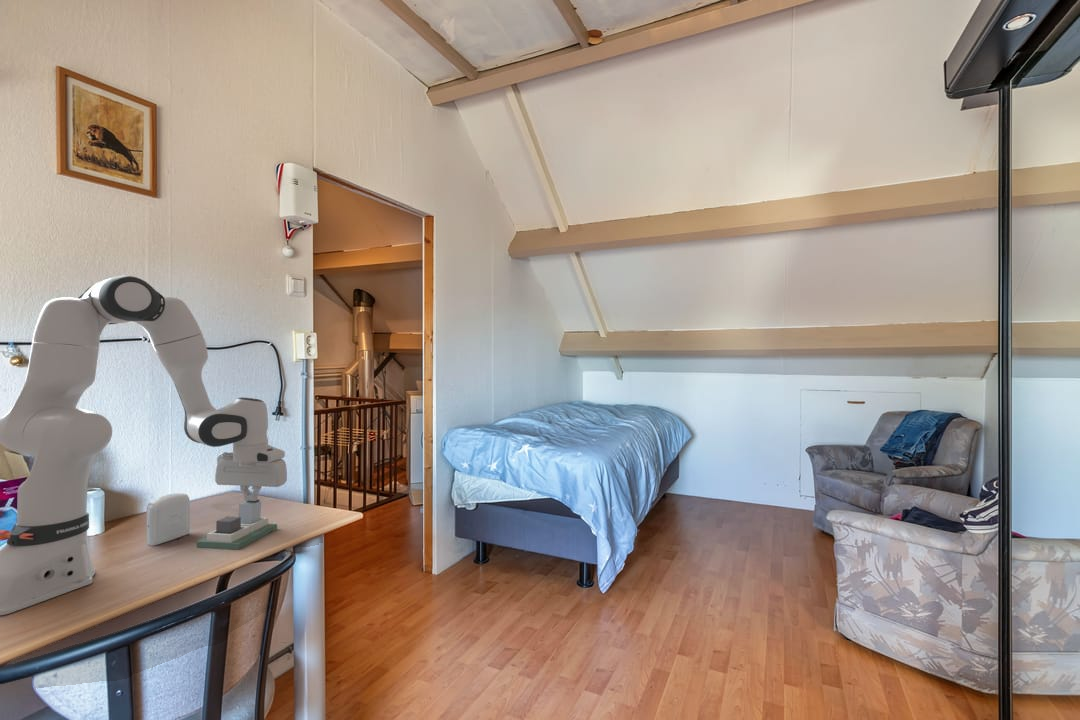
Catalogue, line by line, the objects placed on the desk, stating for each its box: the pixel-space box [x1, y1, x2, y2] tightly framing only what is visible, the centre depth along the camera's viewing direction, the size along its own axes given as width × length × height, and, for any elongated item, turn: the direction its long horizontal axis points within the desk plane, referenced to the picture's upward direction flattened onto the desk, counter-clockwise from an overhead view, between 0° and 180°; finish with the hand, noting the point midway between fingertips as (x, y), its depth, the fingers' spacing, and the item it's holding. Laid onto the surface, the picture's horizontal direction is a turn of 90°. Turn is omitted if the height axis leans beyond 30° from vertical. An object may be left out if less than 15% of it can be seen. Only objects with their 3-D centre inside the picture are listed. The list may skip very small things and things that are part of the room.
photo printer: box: [146, 492, 191, 547], centre depth 136 cm, size 10×4×12 cm, turn 162°
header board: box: [196, 515, 278, 551], centre depth 138 cm, size 16×12×6 cm
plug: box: [237, 498, 262, 524], centre depth 142 cm, size 4×4×8 cm
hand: (251, 500), depth 143 cm, fingers closed, pressing on plug
